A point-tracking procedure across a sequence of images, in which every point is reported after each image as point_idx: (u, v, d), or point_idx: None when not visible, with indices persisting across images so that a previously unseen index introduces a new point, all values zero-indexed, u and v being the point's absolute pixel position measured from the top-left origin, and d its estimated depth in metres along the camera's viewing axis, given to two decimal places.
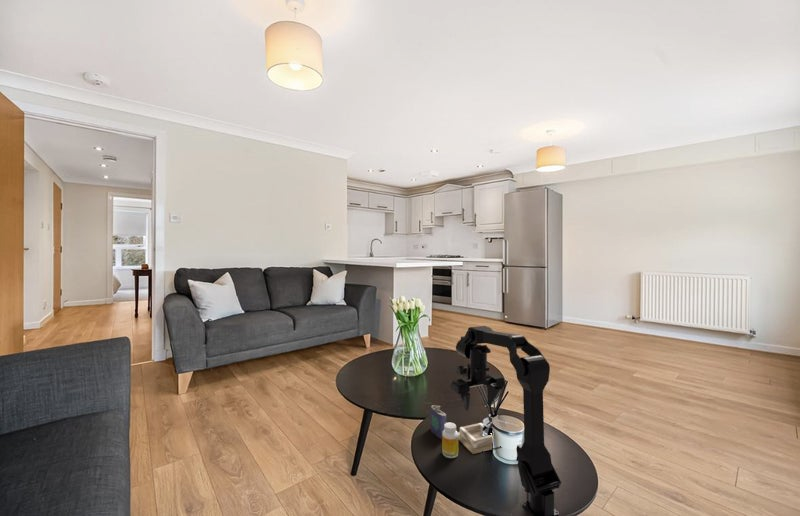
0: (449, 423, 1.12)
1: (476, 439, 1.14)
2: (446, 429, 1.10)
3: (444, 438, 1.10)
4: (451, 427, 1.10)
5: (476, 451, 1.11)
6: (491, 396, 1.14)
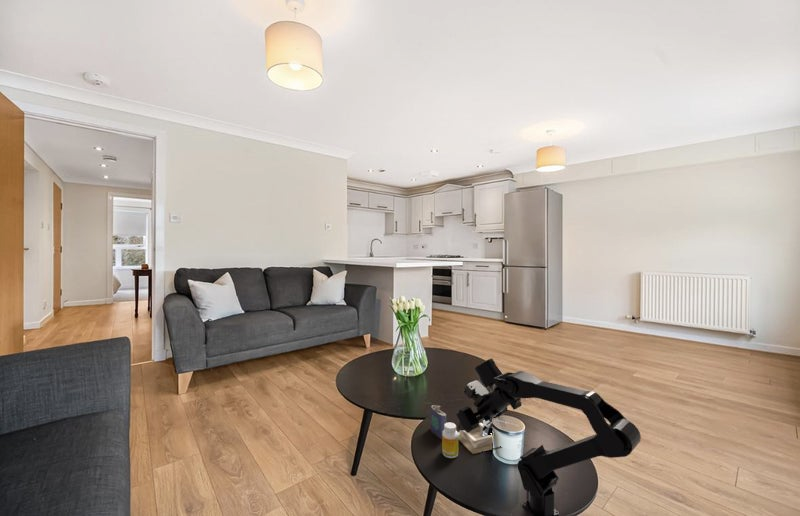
0: (449, 423, 1.12)
1: (476, 439, 1.14)
2: (446, 429, 1.10)
3: (444, 438, 1.10)
4: (451, 427, 1.10)
5: (476, 451, 1.11)
6: None
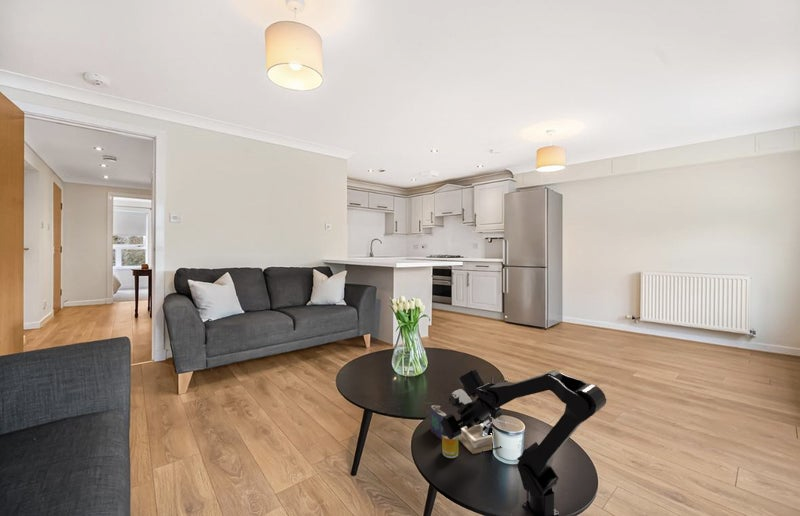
0: None
1: (476, 439, 1.14)
2: None
3: (444, 438, 1.10)
4: None
5: (476, 451, 1.11)
6: None
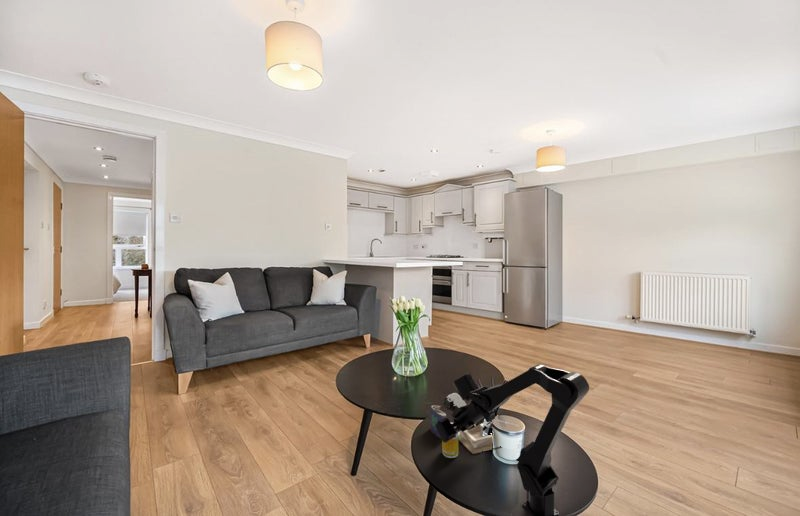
0: None
1: (476, 439, 1.14)
2: None
3: None
4: None
5: (476, 451, 1.11)
6: None
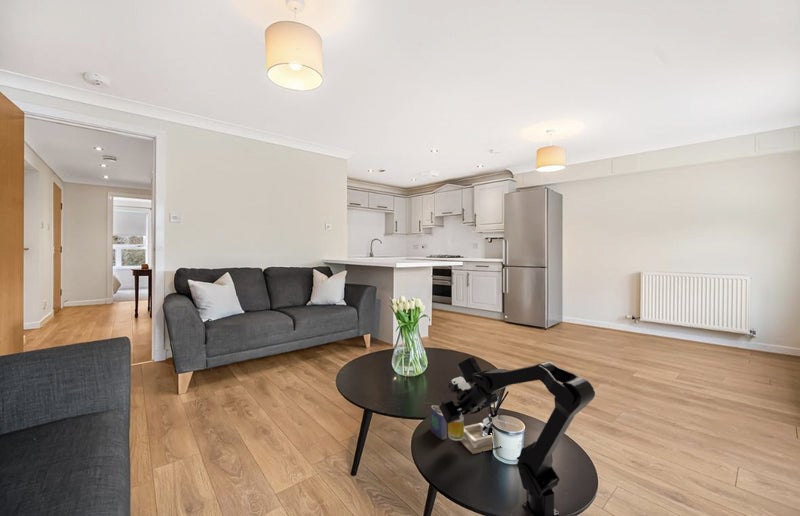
0: None
1: (476, 439, 1.14)
2: None
3: None
4: None
5: (476, 451, 1.11)
6: None
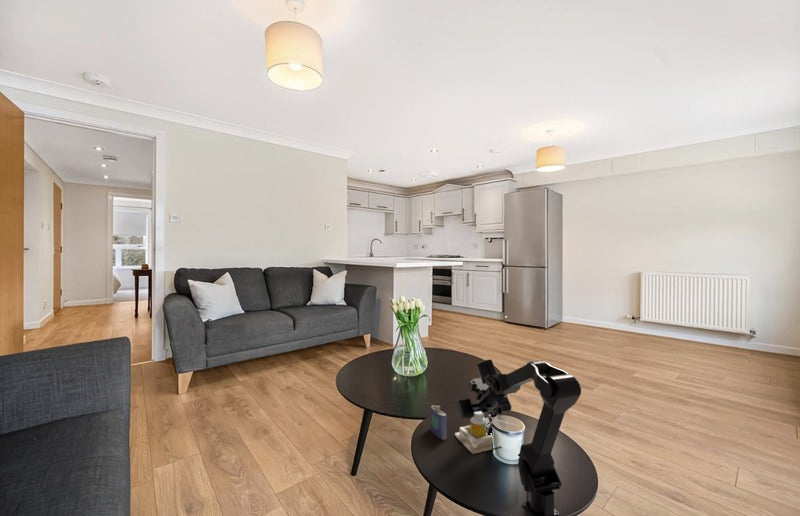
0: None
1: (476, 439, 1.14)
2: None
3: (471, 422, 1.18)
4: (478, 413, 1.17)
5: (476, 451, 1.11)
6: (492, 411, 1.18)
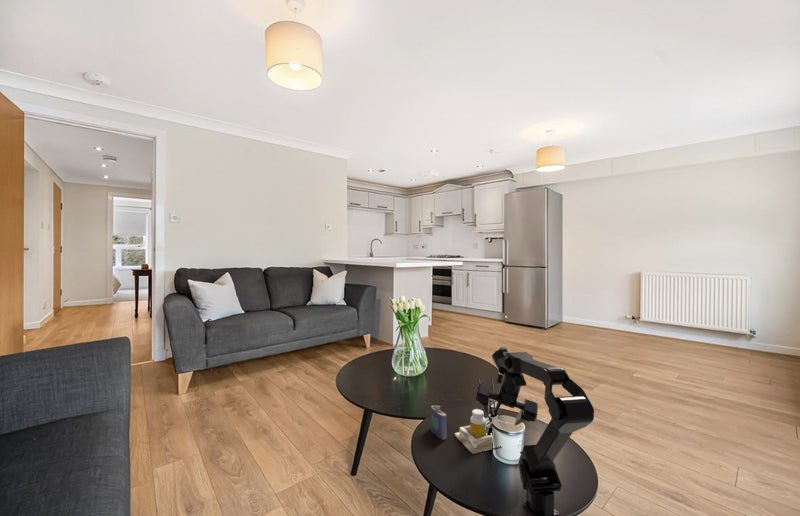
0: (478, 410, 1.19)
1: (476, 439, 1.14)
2: (473, 414, 1.18)
3: (471, 422, 1.18)
4: (477, 413, 1.17)
5: (476, 451, 1.11)
6: (517, 419, 1.06)
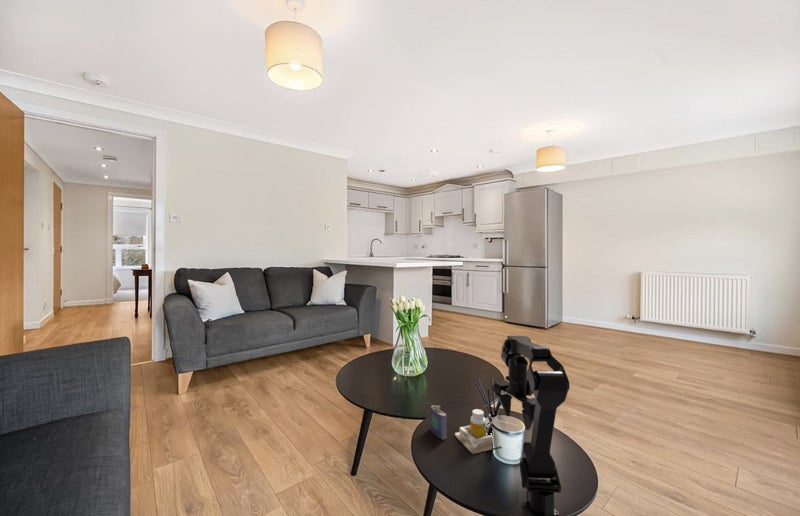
0: (478, 410, 1.19)
1: (476, 439, 1.14)
2: (473, 414, 1.18)
3: (471, 422, 1.18)
4: (478, 413, 1.17)
5: (476, 451, 1.11)
6: None
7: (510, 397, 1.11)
